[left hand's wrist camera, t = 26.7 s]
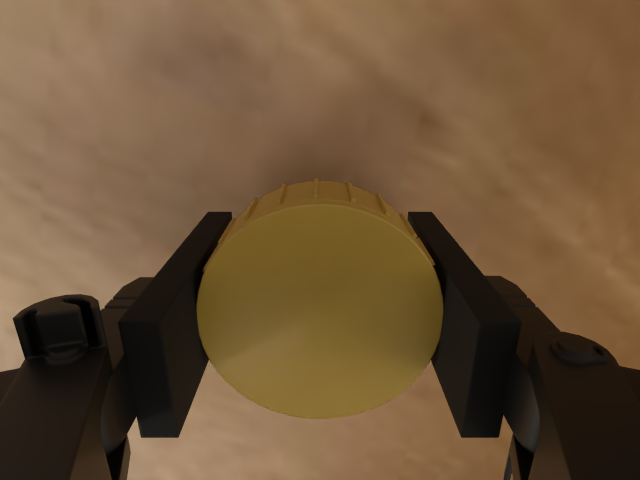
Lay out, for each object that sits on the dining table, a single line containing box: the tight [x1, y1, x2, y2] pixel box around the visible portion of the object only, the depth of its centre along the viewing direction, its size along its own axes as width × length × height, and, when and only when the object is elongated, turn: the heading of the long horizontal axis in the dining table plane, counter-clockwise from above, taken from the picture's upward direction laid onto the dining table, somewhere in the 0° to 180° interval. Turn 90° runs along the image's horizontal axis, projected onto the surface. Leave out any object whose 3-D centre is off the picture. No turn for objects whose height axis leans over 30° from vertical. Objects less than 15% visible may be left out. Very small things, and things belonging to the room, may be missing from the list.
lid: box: [196, 178, 444, 419], centre depth 11 cm, size 6×6×2 cm
